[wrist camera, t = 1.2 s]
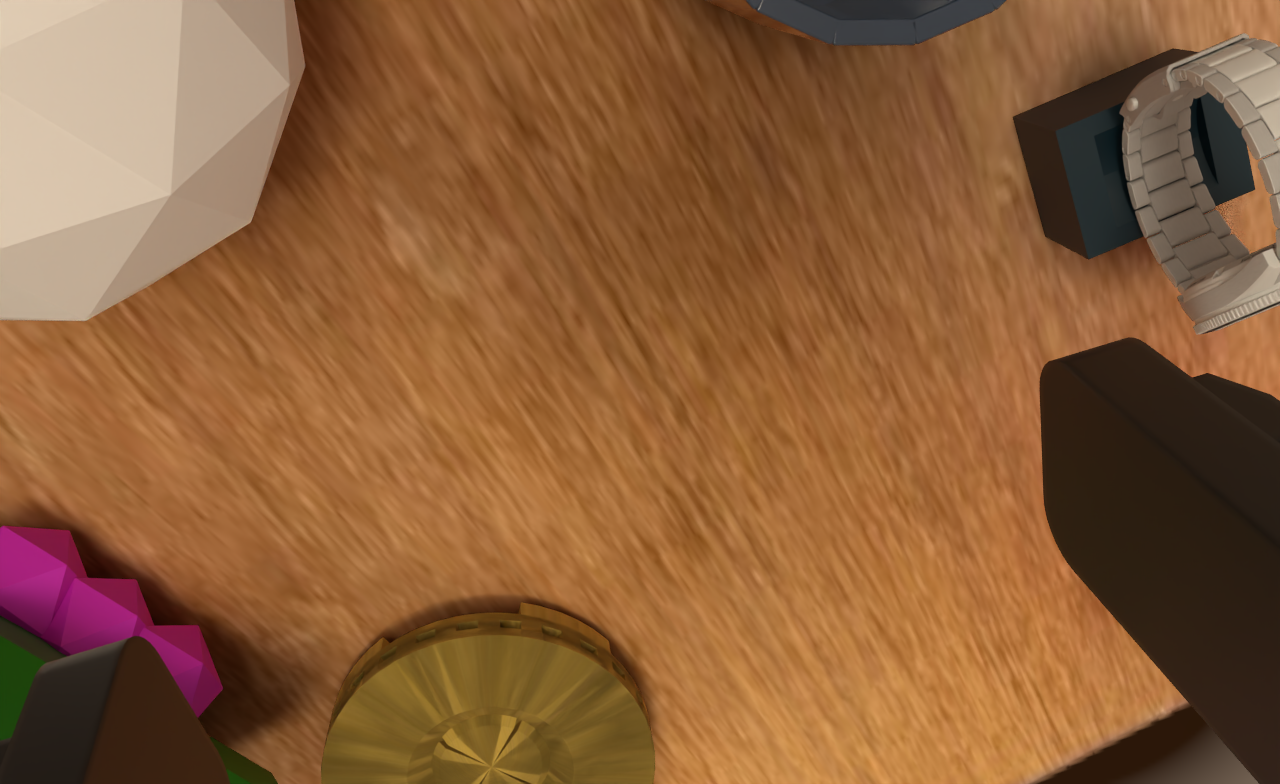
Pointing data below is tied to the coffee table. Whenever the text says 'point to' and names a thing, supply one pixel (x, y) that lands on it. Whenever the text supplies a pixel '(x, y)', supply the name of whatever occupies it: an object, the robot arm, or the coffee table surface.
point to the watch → (1167, 170)
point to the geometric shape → (132, 140)
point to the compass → (490, 707)
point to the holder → (862, 18)
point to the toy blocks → (89, 629)
